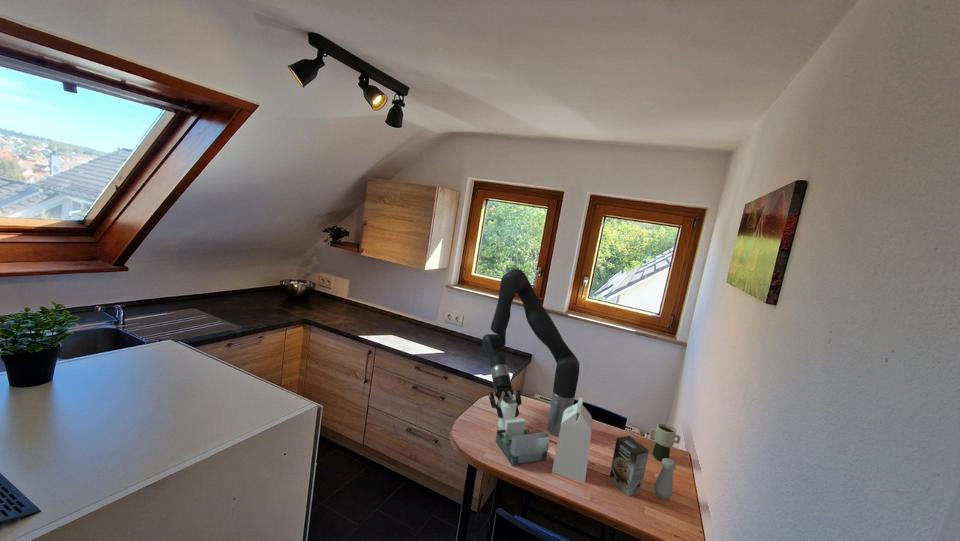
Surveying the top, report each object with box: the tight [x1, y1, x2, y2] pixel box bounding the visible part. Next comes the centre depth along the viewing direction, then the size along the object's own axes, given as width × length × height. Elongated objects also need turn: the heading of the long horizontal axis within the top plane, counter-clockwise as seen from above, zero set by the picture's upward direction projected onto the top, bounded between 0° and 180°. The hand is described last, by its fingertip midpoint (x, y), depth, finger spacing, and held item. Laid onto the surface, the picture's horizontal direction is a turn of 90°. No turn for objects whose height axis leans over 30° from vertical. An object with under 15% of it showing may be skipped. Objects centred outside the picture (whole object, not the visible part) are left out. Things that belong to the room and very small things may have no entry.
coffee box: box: [608, 435, 650, 497], centre depth 134 cm, size 9×6×16 cm
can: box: [497, 397, 517, 430], centre depth 160 cm, size 6×6×12 cm
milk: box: [551, 397, 593, 483], centre depth 140 cm, size 12×12×26 cm
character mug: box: [649, 422, 681, 461], centre depth 154 cm, size 11×7×13 cm, turn 68°
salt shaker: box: [653, 458, 676, 500], centre depth 132 cm, size 6×6×13 cm
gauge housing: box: [495, 428, 551, 467], centre depth 148 cm, size 14×15×10 cm
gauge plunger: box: [496, 417, 526, 441], centre depth 153 cm, size 12×2×8 cm, turn 112°
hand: (509, 417), depth 158 cm, fingers closed on can, 6 cm apart
